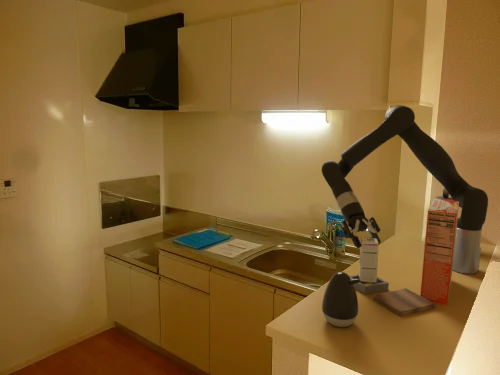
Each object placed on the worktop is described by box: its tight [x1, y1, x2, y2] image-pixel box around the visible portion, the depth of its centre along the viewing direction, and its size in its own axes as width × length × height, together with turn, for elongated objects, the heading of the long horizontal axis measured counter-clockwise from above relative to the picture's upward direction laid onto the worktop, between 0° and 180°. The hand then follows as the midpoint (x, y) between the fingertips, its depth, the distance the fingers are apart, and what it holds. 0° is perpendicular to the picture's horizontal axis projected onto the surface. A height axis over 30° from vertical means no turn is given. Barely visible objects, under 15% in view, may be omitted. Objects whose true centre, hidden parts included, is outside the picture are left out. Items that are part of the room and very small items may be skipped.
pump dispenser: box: [321, 271, 361, 328], centre depth 109 cm, size 10×10×15 cm
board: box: [372, 287, 436, 317], centre depth 122 cm, size 14×12×2 cm
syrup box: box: [358, 236, 380, 284], centre depth 133 cm, size 6×6×14 cm
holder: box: [349, 273, 389, 295], centre depth 134 cm, size 10×10×2 cm
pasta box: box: [419, 197, 460, 306], centre depth 130 cm, size 23×8×30 cm, turn 150°
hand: (369, 245), depth 132 cm, fingers closed on syrup box, 7 cm apart
